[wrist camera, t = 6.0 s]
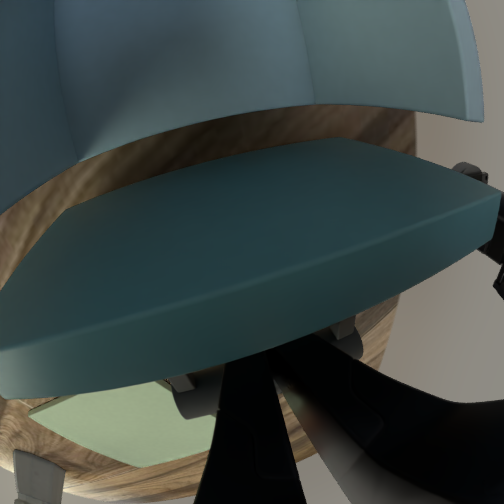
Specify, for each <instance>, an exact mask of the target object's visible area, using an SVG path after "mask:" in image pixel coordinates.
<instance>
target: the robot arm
mask: <svg viewBox="0 0 504 504" xmlns="http://www.w3.org/2000/svg"><path fill="white" fill-rule="evenodd" d="M467 176H469V177H471V178H473V179H476V180H478V181H480V182H482V183H485V184H487V183H488V173H486V172H480V173H476V174H471V175H467ZM487 185H488V184H487ZM489 186H490V185H489ZM491 187H492V186H491ZM493 188H494V187H493ZM495 189H496V188H495ZM497 190H498V189H497ZM499 191H500V190H499ZM500 192H501V200H500V206H499V211H498V216H497V221H496V225H495V230H494V234H493V238H492V239H491V240H489V241H488V242H486V243H485V244H484V245H482V246H481V247H479V248H477V250H478V251H480V252H481V253H483V254H485V255H486V256H488V257H489V258H491V259H492V260H493V261H495V262H496V263H498V264H499V265H501V266H502V267H501V269H500V272H499V274H498V277H497V279H496V280H495V281H494V284H493V287H494V288H495V289H496V290H497V292H498V294H499V295H500V296H501V297H502V298H503V300H504V192H502V191H500ZM273 378H274V380H275V381H276V383H277V385H278V387H279V388H280V390H281V392H282V393H283V395H284V397H285V399H286V400H287V402H288V404H289V406H290V407H291V409H292V411H293V412H294V414H295V416H296V417H297V419H298V421H299V422H300V424H301V426H302V427H303V429H304V431H305V432H306V434H307V436H308V437H309V439H310V441H311V442H312V444H313V445H314V447H315V449H316V450H317V452H318V453H319V455H320V457H321V458H322V460H323V461H324V463H325V464H326V466H327V468H328V469H329V470H330V472H331V474H332V475H333V477H334V478H335V480H336V481H337V482H338V484H339V486H340V487H341V489H342V490H343V492H344V494H345V495H346V496H347V498H348V499H349V501H350V502H351V504H504V399H503V400H495V401H486V402H476V403H459V402H453V401H448V400H445V399H442V398H439V397H436V396H434V395H431V394H429V393H426V392H424V391H421V390H419V389H416V388H413V387H411V386H409V385H406V384H404V383H401V382H399V381H397V380H395V379H393V378H390V377H388V376H386V375H384V374H382V373H380V372H378V371H377V370H375V369H373V368H371V367H369V366H367V365H366V364H364V363H362V362H361V361H359V360H357V359H354V360H353V357H352V356H351V355H349V354H347V353H346V352H344V351H342V350H341V349H339V348H337V347H336V346H334V345H332V344H331V343H329V342H328V341H326V340H324V339H323V338H321V337H320V336H318V335H316V334H315V333H311V334H309V335H306V336H303V337H301V338H298V339H296V340H293V341H290V342H287V343H285V344H282V345H279V346H276V347H274V348H271V349H268V350H265V351H262V352H259V353H256V354H253V355H250V356H247V357H244V358H241V359H237V360H234V361H231V362H227V363H224V369H223V375H222V382H221V388H220V395H219V402H218V409H219V410H217V414H216V421H215V427H214V432H213V437H212V443H211V446H210V450H209V454H208V458H207V462H206V465H205V468H204V471H203V475H202V478H201V481H200V484H199V487H198V491H197V494H196V497H195V500H194V503H193V504H307V503H306V499H305V496H304V492H303V489H302V485H301V481H300V479H299V474H298V470H297V467H296V463H295V459H294V456H293V452H292V448H291V444H290V441H289V437H288V433H287V429H286V426H285V422H284V418H283V414H282V410H281V407H280V403H279V399H278V395H277V391H276V387H275V383H274V380H273Z"/></svg>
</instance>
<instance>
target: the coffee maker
mask: <svg viewBox="0 0 504 504" xmlns="http://www.w3.org/2000/svg"><path fill="white" fill-rule="evenodd" d="M13 463H14V474H15V482H16V489H17V493H18V499H16V500H15V502H14V504H61V499H62V491H63V484H64V478H65V472H66V471H65V470H64V469H62V468H61V467H59V466H58V465H56V464H55V463H52V462H50V461H47V460H45V459H43V458H40V457H38V456H36V455H33V454H30V453H26V452H23V451H19V450H14V452H13Z"/></svg>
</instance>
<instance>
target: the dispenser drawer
mask: <svg viewBox="0 0 504 504" xmlns="http://www.w3.org/2000/svg"><path fill="white" fill-rule="evenodd" d="M315 104H331V105H359V106H374V107H385V108H395V109H403V110H411V111H418V112H424V113H430V114H436V115H441V116H446V117H451V118H456V119H460V120H465V121H471V122H480V123H482V122H484V102H483V88H482V79H481V70H480V63H479V57H478V51H477V45H476V41H475V36H474V32H473V27H472V23H471V20H470V16H469V12H468V9H467V6H466V3H465V0H0V215H1V214H2V213H4V212H5V211H6V210H7V209H9V208H10V207H11V206H13V205H14V204H15V203H17V202H18V201H19V200H21V199H22V198H24V197H25V196H26V195H28V194H29V193H31V192H32V191H34V190H35V189H37V188H38V187H40V186H41V185H43V184H44V183H46V182H47V181H49V180H50V179H52V178H54V177H55V176H57V175H59V174H60V173H62V172H64V171H65V170H67V169H69V168H70V167H72V166H74V165H76V164H77V163H79V162H82V161H84V160H86V159H89V158H91V157H94V156H96V155H99V154H101V153H104V152H106V151H109V150H112V149H114V148H117V147H120V146H122V145H125V144H128V143H131V142H134V141H137V140H140V139H143V138H146V137H149V136H153V135H156V134H159V133H163V132H166V131H170V130H173V129H177V128H180V127H184V126H188V125H192V124H196V123H200V122H205V121H209V120H214V119H218V118H223V117H228V116H233V115H238V114H244V113H250V112H256V111H262V110H269V109H277V108H285V107H294V106H304V105H315ZM500 200H501V192H500V191H499V190H497V189H495V188H493V187H491V186H489V185H487V184H485V183H482V182H480V181H478V180H476V179H473V178H471V177H469V176H466V175H464V174H461V173H459V172H456V171H454V170H451V169H449V168H446V167H443V166H441V165H438V164H435V163H432V162H429V161H426V160H423V159H420V158H417V157H414V156H411V155H408V154H405V153H401V152H398V151H395V150H391V149H387V148H384V147H380V146H376V145H372V144H368V143H364V142H360V141H356V140H352V139H347V138H342V137H334V138H327V139H319V140H312V141H306V142H299V143H293V144H287V145H282V146H276V147H271V148H266V149H261V150H256V151H251V152H246V153H242V154H237V155H233V156H228V157H224V158H220V159H216V160H212V161H208V162H204V163H200V164H196V165H193V166H189V167H186V168H182V169H178V170H175V171H172V172H168V173H165V174H162V175H158V176H155V177H152V178H149V179H146V180H143V181H140V182H137V183H134V184H131V185H128V186H125V187H122V188H119V189H117V190H114V191H111V192H108V193H106V194H103V195H100V196H98V197H95V198H93V199H90V200H88V201H85V202H83V203H80V204H78V205H75V206H73V207H71V208H68V209H66V210H65V211H64V212H63V213H62V214H61V215H60V216H59V217H58V218H57V219H56V221H55V222H54V223H53V224H52V225H51V226H50V227H49V228H48V229H47V231H46V232H45V233H44V234H43V235H42V236H41V238H40V239H39V240H38V241H37V242H36V244H35V245H34V246H33V247H32V249H31V250H30V251H29V252H28V254H27V255H26V256H25V257H24V259H23V260H22V261H21V263H20V264H19V265H18V267H17V268H16V269H15V271H14V272H13V274H12V275H11V276H10V278H9V279H8V281H7V282H6V284H5V285H4V287H3V288H2V290H1V291H0V395H1V396H2V397H3V398H4V399H33V398H48V397H59V396H69V395H78V394H86V393H93V392H100V391H106V390H112V389H118V388H124V387H129V386H135V385H140V384H145V383H149V382H154V381H159V380H163V379H168V380H169V381H170V383H171V389H172V394H173V398H174V401H175V404H176V407H177V409H178V411H179V413H180V414H181V416H182V417H183V418H184V419H186V420H190V419H194V418H199V417H203V416H207V415H211V414H215V413H217V410H219V409H218V402H219V395H220V388H221V382H222V375H223V369H224V363H227V362H231V361H234V360H237V359H241V358H244V357H247V356H250V355H253V354H256V353H259V352H262V351H265V350H268V349H271V348H274V347H276V346H279V345H282V344H285V343H287V342H290V341H293V340H296V339H298V338H301V337H303V336H306V335H309V334H311V333H315V334H316V335H318V336H320V337H321V338H323V339H324V340H326V341H328V342H329V343H331V344H332V345H334V346H336V347H337V348H339V349H341V350H342V351H344V352H346V353H347V354H349V355H351V356H352V357H353V360H354V359H357V360H359V359H360V358H361V357H362V355H363V344H362V340H361V337H360V335H359V333H358V331H357V329H356V328H355V326H354V324H355V317H356V314H358V313H360V312H363V311H365V310H367V309H369V308H371V307H373V306H375V305H378V304H380V303H382V302H384V301H386V300H388V299H390V298H392V297H394V296H396V295H398V294H400V293H402V292H404V291H405V290H407V289H409V288H411V287H413V286H415V285H417V284H419V283H420V282H422V281H424V280H426V279H428V278H430V277H431V276H433V275H435V274H437V273H438V272H440V271H442V270H444V269H445V268H447V267H449V266H450V265H452V264H454V263H455V262H457V261H458V260H460V259H462V258H463V257H465V256H466V255H468V254H470V253H471V252H473V251H474V250H476V249H477V248H479V247H481V246H482V245H484V244H485V243H486V242H488V241H489V240H491V239H492V238H493V234H494V230H495V225H496V221H497V216H498V211H499V206H500ZM323 328H324V329H323ZM273 380H274V378H273ZM274 383H275V387H276V391H277V394H280V393H282V392H281V390H280V388H279V387H278V385H277V383H276V381H275V380H274Z"/></svg>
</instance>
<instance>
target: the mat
mask: <svg viewBox="0 0 504 504" xmlns="http://www.w3.org/2000/svg"><path fill="white" fill-rule="evenodd" d="M216 414H217V413H215V414H211V415H207V416H203V417H199V418H194V419H190V420H186V419H184V418H183V417H182V416H181V414H180V413H179V411H178V409H177V407H176V404H175V401H174V398H173V394H172V389H171V385H170V384H168V383H167V382H165V381H164V380H159V381H154V382H149V383H145V384H140V385H135V386H129V387H124V388H118V389H112V390H106V391H100V392H93V393H86V394H78V395H69V396H61V397H59V398H57V399H54V400H52V401H50V402H48V403H46V404H44V405H41V406H39V407H37V408H35V409H32V410H30V411H29V413H28V417H30V418H31V419H33V420H35V421H36V422H38V423H40V424H41V425H43V426H45V427H46V428H48V429H50V430H52V431H54V432H55V433H57V434H59V435H61V436H63V437H65V438H67V439H69V440H71V441H73V442H75V443H77V444H79V445H81V446H84V447H86V448H88V449H90V450H93V451H95V452H97V453H100V454H102V455H105V456H107V457H110V458H113V459H115V460H118V461H121V462H124V463H127V464H129V465H133V466H136V467H139V468H141V467H146V466H151V465H156V464H160V463H164V462H168V461H172V460H176V459H180V458H183V457H187V456H190V455H193V454H197V453H200V452H203V451H206V450H209V449H210V446H211V443H212V437H213V432H214V427H215V421H216Z"/></svg>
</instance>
